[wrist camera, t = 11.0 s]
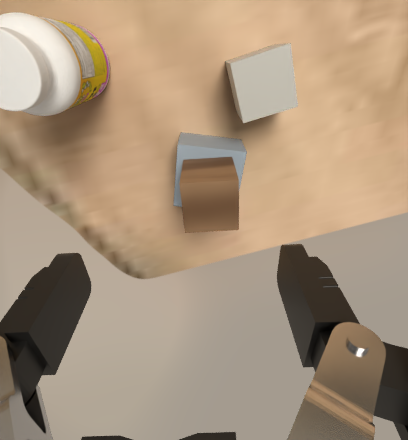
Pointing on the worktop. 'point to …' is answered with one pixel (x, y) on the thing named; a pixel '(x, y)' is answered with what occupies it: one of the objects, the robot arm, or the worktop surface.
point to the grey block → (263, 82)
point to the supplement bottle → (48, 64)
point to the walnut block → (209, 194)
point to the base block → (207, 154)
